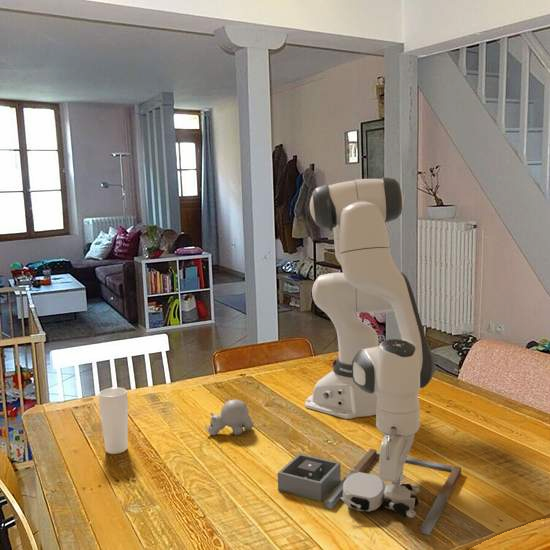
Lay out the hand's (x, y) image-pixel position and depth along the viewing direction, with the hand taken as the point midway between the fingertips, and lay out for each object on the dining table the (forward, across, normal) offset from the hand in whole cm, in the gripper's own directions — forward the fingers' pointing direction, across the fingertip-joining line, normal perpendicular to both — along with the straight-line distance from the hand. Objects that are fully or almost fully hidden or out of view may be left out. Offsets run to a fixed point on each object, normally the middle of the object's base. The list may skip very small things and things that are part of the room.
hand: (397, 481), depth 126 cm
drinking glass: (+2, -4, +68) cm, 68 cm away
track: (+2, 0, 0) cm, 2 cm away
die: (+1, -5, +18) cm, 18 cm away
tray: (+2, -5, +18) cm, 19 cm away
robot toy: (+2, -8, +2) cm, 8 cm away
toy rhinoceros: (+2, +14, +46) cm, 48 cm away
